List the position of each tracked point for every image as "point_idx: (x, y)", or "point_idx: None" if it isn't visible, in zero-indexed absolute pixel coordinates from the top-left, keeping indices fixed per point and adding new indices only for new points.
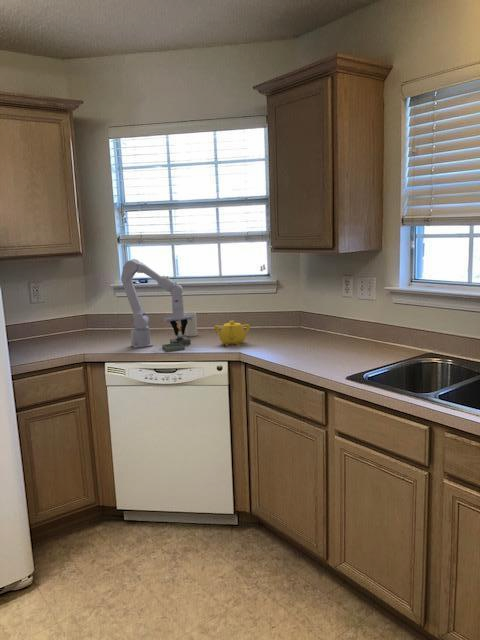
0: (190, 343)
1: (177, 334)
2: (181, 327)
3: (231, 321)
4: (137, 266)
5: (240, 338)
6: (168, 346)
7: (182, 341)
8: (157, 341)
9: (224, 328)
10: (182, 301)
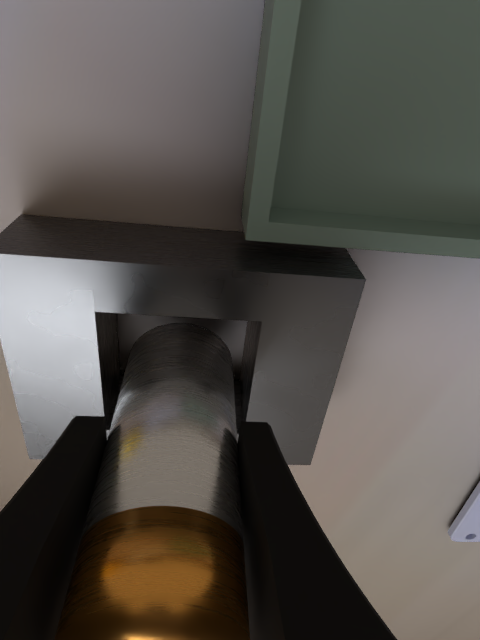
0: (20, 219)
1: (234, 443)
2: (90, 613)
3: None
4: None
5: None
6: (456, 222)
7: (172, 258)
8: (343, 548)
9: None
10: None
